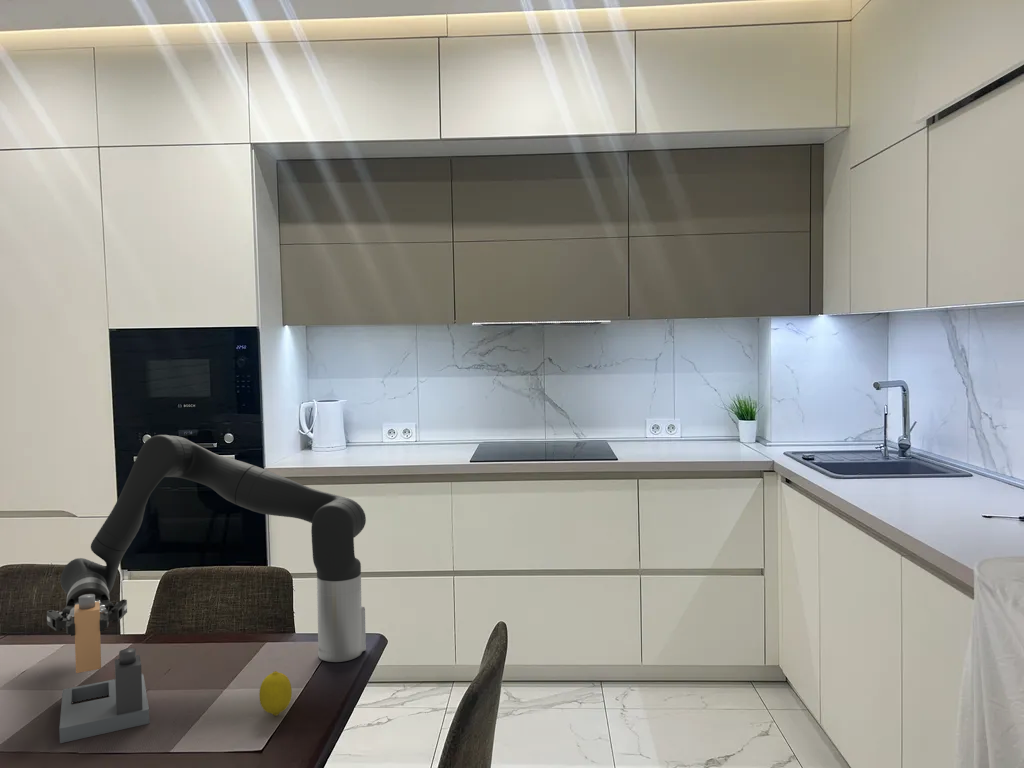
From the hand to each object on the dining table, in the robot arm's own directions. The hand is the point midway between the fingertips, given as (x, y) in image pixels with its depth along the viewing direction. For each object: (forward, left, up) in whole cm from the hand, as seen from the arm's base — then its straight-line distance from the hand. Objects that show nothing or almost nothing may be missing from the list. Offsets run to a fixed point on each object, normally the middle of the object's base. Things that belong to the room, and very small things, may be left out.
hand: (87, 627), depth 135 cm
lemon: (-19, +28, -16) cm, 38 cm away
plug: (-1, -3, -8) cm, 8 cm away
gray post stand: (-2, +2, -16) cm, 16 cm away
